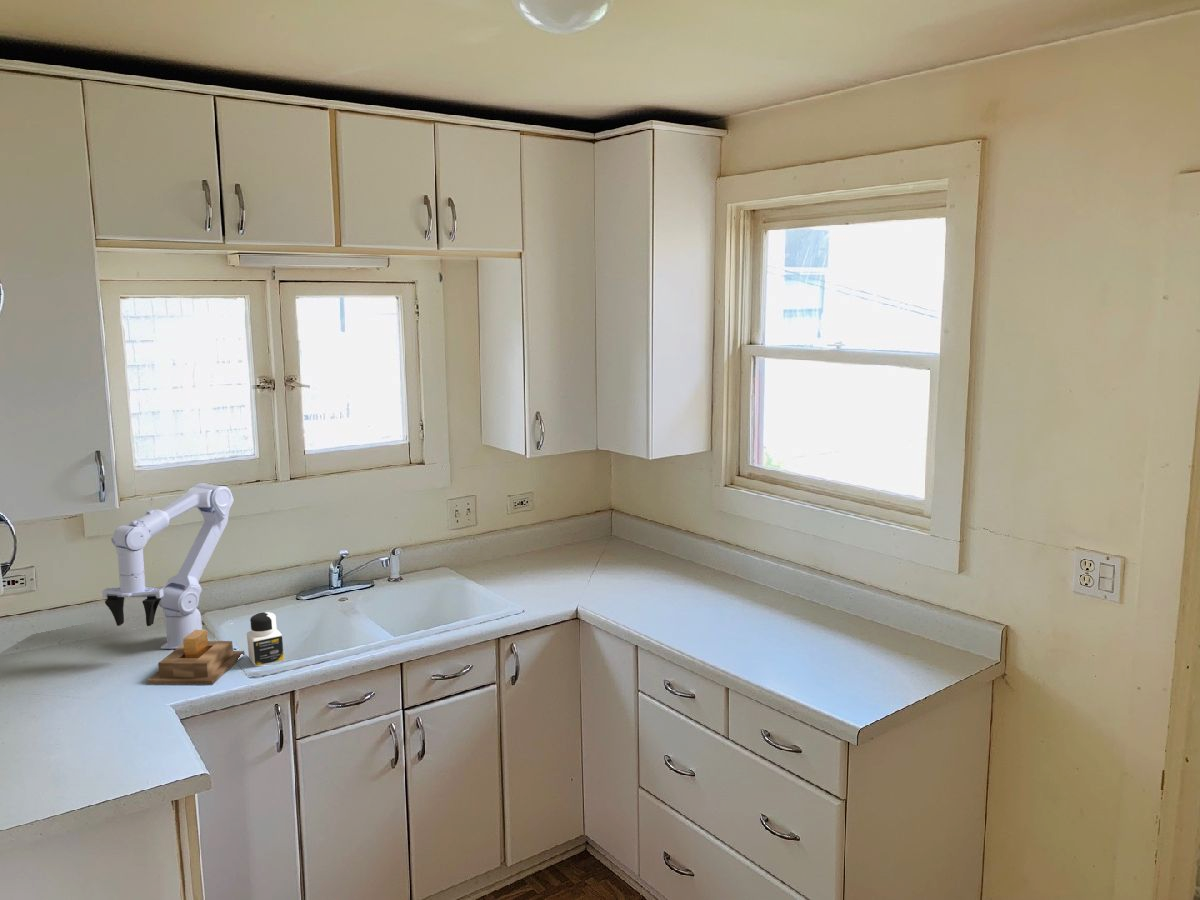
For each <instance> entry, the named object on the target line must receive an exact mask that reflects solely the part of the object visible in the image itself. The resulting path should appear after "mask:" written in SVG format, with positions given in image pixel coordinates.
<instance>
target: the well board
mask: <svg viewBox="0 0 1200 900" xmlns="http://www.w3.org/2000/svg"><path fill="white" fill-rule="evenodd" d="M233 646H234V645H233V641H232V640H208V648H209V650H208V651H206V652H205V653H204V654H203V655H202V656H201V657H199V658H185V652H184V643H183V644H182V645H181V646H179V647H178V648H177V649H173V651H172V652H171V653H169V654H168V655H167V656H165V657H164V658H163V659H161V660H160V661H159V662H158V664H157V665H158V671H156V673H154V674H153V675H152V676H151V677H149V678H148V679H147V680H146V682H147V683H146V684H147V685H207V686H208V685H212V686H213V685H214V684H215V683H216V682H217V681H218V680H220V678H222V676H223V675H225V674H226V673H227V672H228V671H229V670H230V669H231V668H232V667H233V666H234V665H235V664H236V663H237V662H238V661H239V660H238V658H239V657H240V655H241V654H243V655H244V656H245V654H246V653H245V650H234V647H233ZM237 660H238V661H237Z"/></svg>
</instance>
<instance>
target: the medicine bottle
mask: <svg viewBox="0 0 1200 900" xmlns="http://www.w3.org/2000/svg"><path fill="white" fill-rule="evenodd" d="M249 619H250V630H251V631H247V632H246V639H247V649H248V658H249V660H250V661H251V662H252V664H253V665H254V667H256V666H257V667H261V666H266V665H270V664H275V663H278V662H283V661H284V659H285V654H284V645H283V644H284V641H283V634H282V633H281V632H280V631H279V629H277V618H276V614H275V613H273V612H267V611H264V612H258V613H256V614H254V615H252V616H251V617H250V618H249ZM257 667H256V668H257Z"/></svg>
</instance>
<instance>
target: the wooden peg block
mask: <svg viewBox="0 0 1200 900" xmlns="http://www.w3.org/2000/svg"><path fill="white" fill-rule="evenodd" d="M208 641H209V640H208V629H202V630H194V631H193V632H191V633H190V634H189V635H188V636H186V637H185V638H184V639H183V642H184V652H185V658H199V657H201V656H202V655H203V654H204V653H205V652H206V651H208V650H209V648H208Z"/></svg>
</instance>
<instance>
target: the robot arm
mask: <svg viewBox="0 0 1200 900" xmlns="http://www.w3.org/2000/svg"><path fill="white" fill-rule="evenodd" d="M234 501H235V500H234V497H233V494H232V491H231V489H230V488H229V487H228V486H225V485H216V484H215V485H214V484H208V483H204V482H201V483H198V484H196V485H195V486H193V487H190V488H189V489H188V491H187V492H186V493H184V494H183V495H181V496H180V497H178V498H177V499H176V500H174V501H172V502H171V503H169V504H168V505H166V506H165V507H164V508H163V509H157V508H155V509H148V510H147V511H145V512H146V514H144V515H141V516H140V517H139V518H137V519H132V521H130V523H129V524H128V525H127V524H123V525H120V526H118V527H117V528H116V529H115V530H114V532H113V535H112V537H111V538H110V540H111V544H113V546H114V547H115V549H116V553H117V564H118V565H117V566H118V577H119V587H112V588H111V587H110V588H109V587H106V588H105V589H102V598H103V599H105V600H104V604H105V605H106V607H108V609H109V611H110V613H111V614H112V616H113V618H114V622H115V624H116V626H117V627H119V626H121V625H123V624H124V623H125V617H124V616H125V613H124V605H125V598H145V599H143V600H142V601H141V602H142V605H143V607H144V612H145V623H146V627H151V626H152V625H154V622H155V616H156V612H157V609H158V607H160V608H161V609H162V611H163V613H164V622H165V631H166V632H165V633H166V640H167V642H165V643H164V644H163V645H161V646H160V649H163V650H176V649H177V648H178V647H179V646H181V645H182V644H183V643H184V642H183V639H184V638H185V637H186V636H188V635H189V634H190V633H191V632H193V631H194V630H203V624H202V616H201V615H202V614H201V612H200V610H199V609H198V605H199V603H200V595H201V593H202V591H203V589H202V587H201V585H200V583H199V581H200V578H201V577H202V574H203V573H204V571H205V568H206V567H207V565H208V562H209V560H210V559H211V557H212V555H213V552H214V550H215V549H216V546H217V544H218V543H219V541H220V538H221V537H222V535H223V532H224V530H225V529H226V526H227V525H228V522H229V515H230V509H231V507H232V505H233V504H234ZM194 508H197V510H198V511H199V512H200V514H201V515H202V517H203V520H204V521H203V523H202V525H201V528H200V530H199V532H198V534H197V536H196V538H195V540H194V542H193V544H192V546H191V547H190V549H189V551H188V553H187V554H186V555H187V556H186V557H185V559H184V561H183V563H182V565H181V567H180V569H179V570H178V573H177V574H175V575H173V576H172V577H170V578H169V579H168V580H167V582H166V583H165V585H164V586H163V587H161V588H156V587H155V588H154V587H150V586H149V587H148V586H146V578H145V577H146V576H145V573H146V572H145V563H144V561H145V560H144V548H145V547H146V545H147V543H148V541H149V539H151V538H152V537H154V536H156V535H158V534H159V533H160V532H163V531H164V530H166V529H167V528H168V527H169V525H170V521H172V520H173V519H175V518H177V517H179V516H181V515H183V514H185V513H187V512H188V511H190V510H193V509H194Z"/></svg>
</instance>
